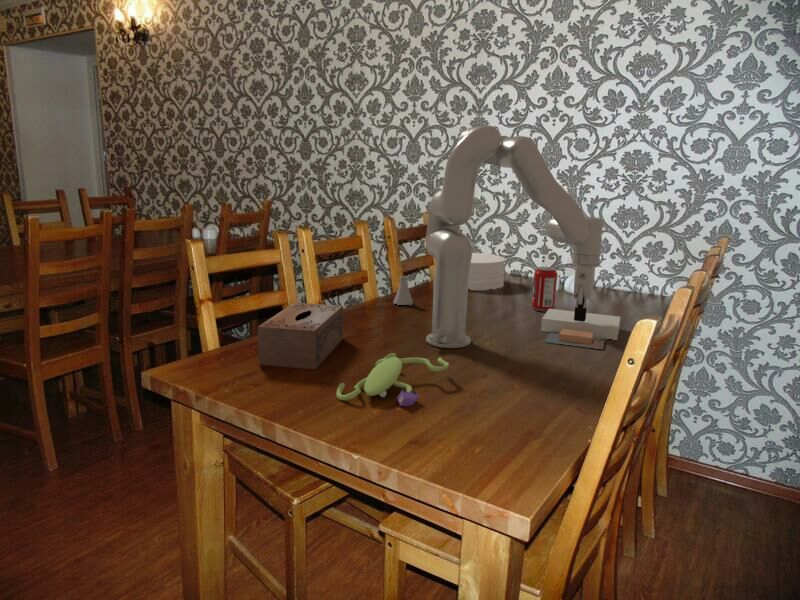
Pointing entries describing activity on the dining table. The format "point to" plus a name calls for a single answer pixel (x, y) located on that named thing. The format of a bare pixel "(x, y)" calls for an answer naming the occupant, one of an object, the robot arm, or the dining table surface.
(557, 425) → the dining table surface
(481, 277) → the plate stack
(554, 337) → the mat
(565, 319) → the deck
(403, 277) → the flask
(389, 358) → the figurine
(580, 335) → the tile
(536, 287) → the soda can
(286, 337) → the tissue box cover
